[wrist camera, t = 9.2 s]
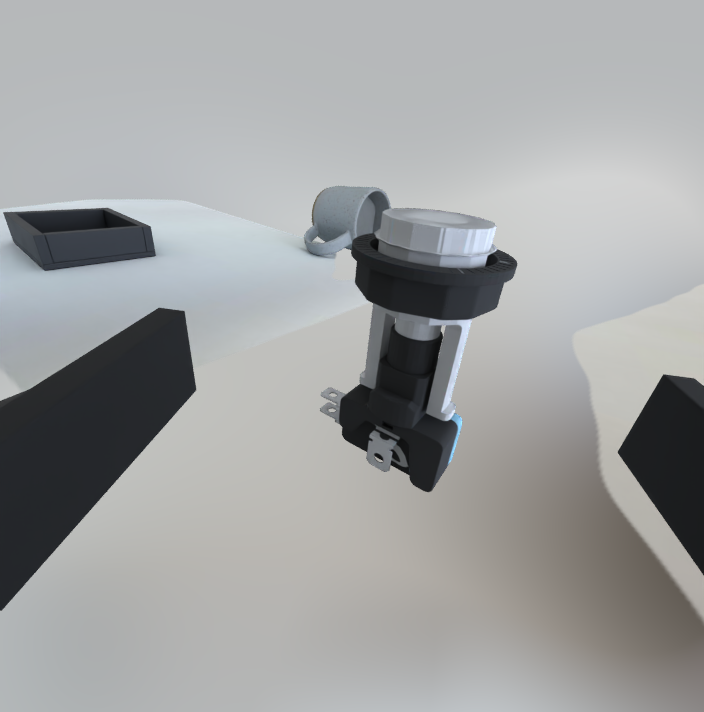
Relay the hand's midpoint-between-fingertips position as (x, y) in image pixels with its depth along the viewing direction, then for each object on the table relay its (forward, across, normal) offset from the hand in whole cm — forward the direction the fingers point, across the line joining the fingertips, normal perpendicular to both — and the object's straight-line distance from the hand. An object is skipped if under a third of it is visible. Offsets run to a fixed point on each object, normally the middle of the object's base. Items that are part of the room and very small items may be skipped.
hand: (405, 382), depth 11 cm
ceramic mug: (+39, +7, +6) cm, 40 cm away
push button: (+4, 0, +6) cm, 7 cm away
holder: (+27, +33, +6) cm, 43 cm away
